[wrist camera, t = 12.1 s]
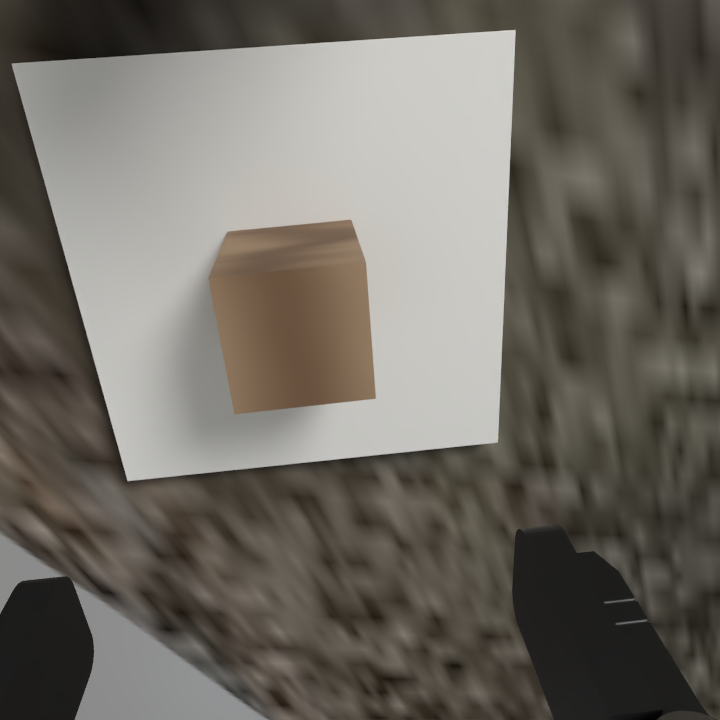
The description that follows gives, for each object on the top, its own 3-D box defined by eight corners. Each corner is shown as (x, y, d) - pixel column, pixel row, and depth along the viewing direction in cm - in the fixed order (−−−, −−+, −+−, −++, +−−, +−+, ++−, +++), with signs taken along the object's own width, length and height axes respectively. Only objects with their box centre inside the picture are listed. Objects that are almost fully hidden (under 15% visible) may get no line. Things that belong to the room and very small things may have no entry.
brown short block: (351, 219, 25) (365, 262, 20) (360, 332, 27) (375, 398, 22) (227, 231, 25) (208, 277, 19) (246, 344, 27) (234, 414, 22)
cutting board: (505, 31, 24) (515, 30, 23) (490, 429, 32) (497, 442, 30) (24, 63, 23) (11, 63, 22) (133, 466, 31) (127, 481, 30)
